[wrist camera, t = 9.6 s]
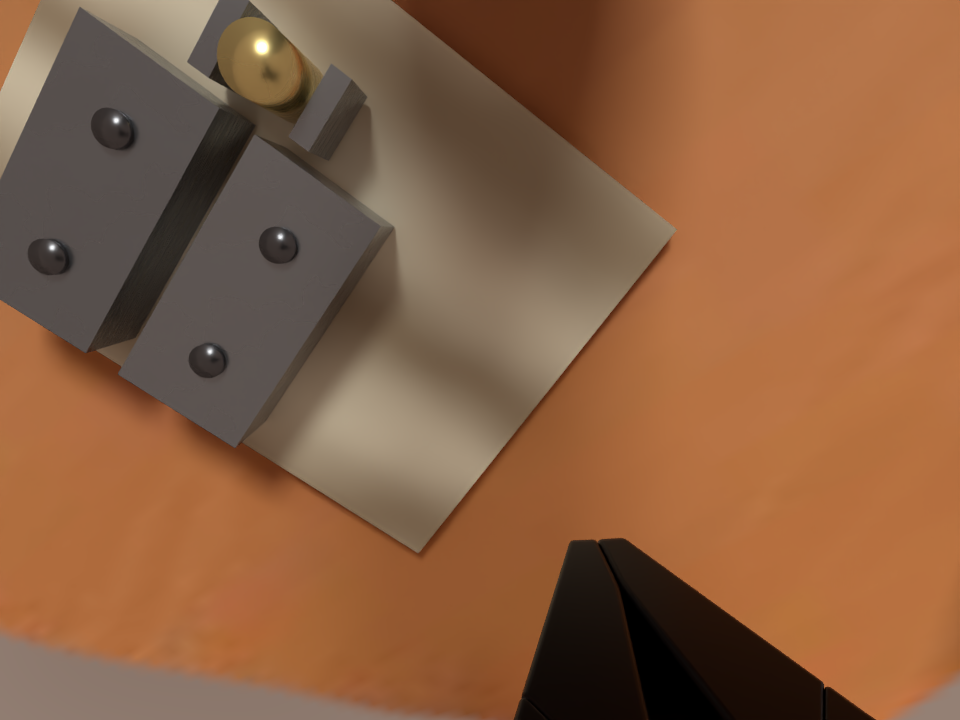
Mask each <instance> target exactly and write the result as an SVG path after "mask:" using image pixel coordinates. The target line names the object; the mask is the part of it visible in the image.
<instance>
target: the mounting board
mask: <svg viewBox="0 0 960 720" xmlns="http://www.w3.org/2000/svg"><path fill="white" fill-rule="evenodd" d="M218 1H219V0H41V1H40V3H39V5H38V8H37V10H36V12H35V14H34V17H33V19H32V21H31V24H30V26H29V28H28V30H27V33H26V35H25V37H24V39H23V42H22V44H21V46H20V48H19V51H18V53H17V55H16V57H15V60H14V62H13V64H12V67H11V69H10V71H9V73H8V76H7V78H6V80H5V82H4V85H3V87H2V89H1V91H0V179H1V176H2V174H3V172H4V170H5V168H6V165H7V163H8V161H9V159H10V157H11V155H12V152H13V150H14V148H15V146H16V144H17V142H18V139H19V137H20V135H21V133H22V131H23V129H24V126H25V124H26V122H27V120H28V118H29V115H30V113H31V111H32V109H33V107H34V105H35V102H36V100H37V98H38V96H39V94H40V92H41V89H42V87H43V85H44V83H45V81H46V78H47V76H48V74H49V72H50V70H51V68H52V65H53V63H54V61H55V59H56V57H57V55H58V52H59V50H60V48H61V46H62V44H63V42H64V39H65V37H66V35H67V33H68V31H69V28H70V26H71V24H72V22H73V20H74V18H75V15H76V13H77V11H78V9H79V7H81V8H83V9H85V10H87V11H88V12H90V13H92V14H94V15H96V16H97V17H99V18H101V19H103V20H105V21H106V22H108V23H110V24H112V25H114V26H116V27H117V28H119V29H121V30H123V31H125V32H126V33H128V34H130V35H132V36H134V37H135V38H137V39H139V40H140V41H141V42H143V43H144V44H145V45H147V46H148V47H150V48H151V49H152V50H154V51H155V52H156V53H158V54H159V55H160V56H162V57H163V58H165V59H166V60H167V61H169V62H170V63H171V64H173V65H174V66H176V67H177V68H178V69H180V70H181V71H182V72H184V73H185V74H186V75H188V76H189V77H191V78H192V79H193V80H195V81H196V82H197V83H199V84H200V85H202V86H203V87H204V88H206V89H207V90H208V91H210V92H211V93H213V94H214V95H215V96H217V97H218V98H219V99H221V100H222V101H223V102H225V103H226V104H228V105H229V106H230V107H232V108H233V109H234V110H236V111H237V112H239V113H240V114H241V115H243V116H244V117H245V118H247V119H248V120H249V121H251V122H252V123H254V124H255V125H256V126H255V128H254V129H253V131H252V133H251V135H250V136H249V138H248V140H247V142H246V144H245V145H244V147H243V149H242V151H241V152H240V154H239V156H238V158H237V159H236V161H235V163H234V165H233V167H232V168H231V170H230V172H229V174H228V175H227V177H226V179H225V181H224V182H223V184H222V186H221V188H220V189H219V191H218V193H217V195H216V197H215V198H214V200H213V202H212V204H211V205H210V207H209V209H208V211H207V212H206V214H205V216H204V218H203V219H202V221H201V223H200V225H199V227H198V228H197V230H196V232H195V234H194V235H193V237H192V239H191V241H190V242H189V244H188V246H187V248H186V250H185V251H184V253H183V255H182V257H181V258H180V260H179V262H178V264H177V265H176V267H175V269H174V271H173V272H172V274H171V276H170V278H169V280H168V281H167V283H166V285H165V287H164V288H163V290H162V292H161V294H160V295H159V297H158V299H157V301H156V302H155V304H154V306H153V308H152V310H151V311H150V313H149V315H148V317H147V318H146V320H145V322H144V324H143V325H142V327H141V329H140V331H139V333H138V334H137V336H136V338H134V339H131V340H128V341H124V342H121V343H118V344H114V345H111V346H108V347H105V348H101V349H98V350H96V351H98V352H99V353H101V354H102V355H104V356H106V357H107V358H109V359H110V360H112V361H113V362H115V363H117V364H118V365H120V366H121V367H122V366H123V364H124V362H125V360H126V359H127V357H128V355H129V353H130V352H131V350H132V348H133V346H134V345H135V343H136V341H137V339H138V338H139V336H140V334H141V332H142V331H143V329H144V327H145V325H146V324H147V322H148V320H149V318H150V317H151V315H152V313H153V311H154V310H155V308H156V306H157V304H158V303H159V301H160V299H161V297H162V296H163V294H164V292H165V290H166V289H167V287H168V285H169V283H170V282H171V280H172V278H173V276H174V275H175V273H176V271H177V269H178V267H179V266H180V264H181V262H182V260H183V259H184V257H185V255H186V253H187V252H188V250H189V248H190V246H191V245H192V243H193V241H194V239H195V238H196V236H197V234H198V232H199V231H200V229H201V227H202V225H203V224H204V222H205V220H206V218H207V217H208V215H209V213H210V211H211V210H212V208H213V206H214V204H215V203H216V201H217V199H218V197H219V196H220V194H221V192H222V190H223V189H224V187H225V185H226V183H227V182H228V180H229V178H230V176H231V175H232V173H233V171H234V169H235V168H236V166H237V164H238V162H239V161H240V159H241V157H242V155H243V154H244V152H245V150H246V148H247V147H248V145H249V143H250V141H251V140H252V138H253V136H254V134H255V135H258V136H260V137H262V138H265V139H267V140H270V141H272V142H274V143H277V144H279V145H281V146H284V147H286V148H288V149H289V150H290V151H292V152H293V153H294V154H296V155H297V156H298V157H300V158H301V159H303V160H304V161H305V162H307V163H308V164H309V165H311V166H312V167H313V168H315V169H316V170H318V171H319V172H320V173H322V174H323V175H324V176H326V177H327V178H328V179H330V180H331V181H333V182H334V183H335V184H337V185H338V186H339V187H341V188H342V189H343V190H345V191H346V192H348V193H349V194H350V195H352V196H353V197H354V198H356V199H357V200H358V201H360V202H361V203H363V204H364V205H365V206H367V207H368V208H369V209H371V210H372V211H373V212H375V213H376V214H378V215H379V216H380V217H382V218H383V219H384V220H386V221H387V222H388V223H390V224H391V225H393V226H394V229H393V230H392V232H391V233H390V235H389V236H388V238H387V239H386V241H385V242H384V244H383V245H382V247H381V248H380V250H379V251H378V253H377V254H376V256H375V257H374V259H373V260H372V262H371V263H370V265H369V266H368V268H367V269H366V271H365V272H364V274H363V275H362V277H361V279H360V280H359V282H358V283H357V285H356V286H355V288H354V289H353V291H352V292H351V294H350V295H349V297H348V298H347V300H346V301H345V303H344V304H343V306H342V307H341V309H340V310H339V312H338V313H337V315H336V316H335V318H334V319H333V321H332V322H331V324H330V325H329V327H328V328H327V330H326V331H325V333H324V334H323V336H322V337H321V339H320V340H319V342H318V343H317V345H316V346H315V348H314V349H313V351H312V352H311V354H310V355H309V357H308V358H307V360H306V361H305V363H304V364H303V366H302V367H301V369H300V370H299V372H298V373H297V375H296V376H295V378H294V379H293V381H292V382H291V384H290V385H289V387H288V388H287V390H286V391H285V393H284V394H283V396H282V398H281V399H280V401H279V402H278V404H277V405H276V407H275V408H274V410H273V411H272V413H271V414H270V416H269V417H268V419H267V420H266V422H265V423H264V424H263V425H261V426H260V427H259V428H258V429H257V430H256V431H254V432H253V433H252V434H251V435H250V436H249V437H247V438H246V439H245V440H244V441H243V442H242V443H244V444H245V445H247V446H248V447H250V448H252V449H253V450H255V451H256V452H258V453H260V454H261V455H263V456H264V457H266V458H267V459H269V460H271V461H272V462H274V463H275V464H277V465H279V466H280V467H282V468H283V469H285V470H287V471H288V472H290V473H291V474H293V475H294V476H296V477H298V478H299V479H301V480H302V481H304V482H306V483H307V484H309V485H310V486H312V487H313V488H315V489H317V490H318V491H320V492H321V493H323V494H325V495H326V496H328V497H329V498H331V499H333V500H334V501H336V502H337V503H339V504H340V505H342V506H344V507H345V508H347V509H348V510H350V511H352V512H353V513H355V514H356V515H358V516H360V517H361V518H363V519H364V520H366V521H367V522H369V523H371V524H372V525H374V526H375V527H377V528H379V529H380V530H382V531H383V532H385V533H387V534H388V535H390V536H391V537H393V538H394V539H396V540H398V541H399V542H401V543H402V544H404V545H406V546H407V547H409V548H410V549H412V550H414V551H415V552H417V553H419V552H420V551H421V549H422V548H423V547H424V546H425V544H426V543H427V542H428V541H429V539H430V538H431V537H432V536H433V534H434V533H435V532H436V531H437V529H438V528H439V527H440V526H441V524H442V523H443V522H444V521H445V519H446V518H447V517H448V516H449V514H450V513H451V512H452V511H453V509H454V508H455V507H456V506H457V504H458V503H459V502H460V501H461V499H462V498H463V497H464V496H465V494H466V493H467V492H468V491H469V489H470V488H471V487H472V486H473V484H474V483H475V482H476V481H477V479H478V478H479V477H480V476H481V474H482V473H483V472H484V471H485V469H486V468H487V467H488V466H489V464H490V463H491V462H492V461H493V459H494V458H495V457H496V456H497V454H498V453H499V452H500V451H501V449H502V448H503V447H504V446H505V444H506V443H507V442H508V441H509V439H510V438H511V437H512V436H513V434H514V433H515V432H516V431H517V429H518V428H519V427H520V426H521V424H522V423H523V422H524V421H525V419H526V418H527V417H528V416H529V414H530V413H531V412H532V410H533V409H534V408H535V407H536V405H537V404H538V403H539V402H540V400H541V399H542V398H543V397H544V395H545V394H546V393H547V392H548V390H549V389H550V388H551V387H552V385H553V384H554V383H555V382H556V380H557V379H558V378H559V377H560V375H561V374H562V373H563V372H564V370H565V369H566V368H567V367H568V365H569V364H570V363H571V362H572V360H573V359H574V358H575V357H576V355H577V354H578V353H579V352H580V350H581V349H582V348H583V347H584V345H585V344H586V343H587V342H588V340H589V339H590V338H591V337H592V335H593V334H594V333H595V332H596V330H597V329H598V328H599V327H600V325H601V324H602V323H603V322H604V320H605V319H606V318H607V317H608V315H609V314H610V313H611V312H612V310H613V309H614V308H615V307H616V305H617V304H618V303H619V302H620V300H621V299H622V298H623V297H624V295H625V294H626V293H627V292H628V290H629V289H630V288H631V287H632V285H633V284H634V283H635V282H636V280H637V279H638V278H639V277H640V275H641V274H642V273H643V272H644V270H645V269H646V268H647V267H648V265H649V264H650V263H651V262H652V260H653V259H654V258H655V257H656V255H657V254H658V253H659V251H660V250H661V249H662V248H663V246H664V245H665V244H666V243H667V241H668V240H669V239H670V238H671V236H672V235H673V234H674V233H675V231H676V230H677V229H676V228H675V227H673V226H672V225H671V224H670V223H668V222H667V221H666V220H665V219H663V218H662V217H661V216H660V215H658V214H657V213H656V212H655V211H653V210H652V209H651V208H650V207H648V206H647V205H646V204H645V203H643V202H642V201H641V200H640V199H638V198H637V197H636V196H635V195H633V194H632V193H631V192H630V191H628V190H627V189H626V188H625V187H623V186H622V185H621V184H620V183H618V182H617V181H616V180H615V179H613V178H612V177H611V176H610V175H608V174H607V173H606V172H605V171H603V170H602V169H601V168H600V167H598V166H597V165H596V164H595V163H594V162H592V161H591V160H590V159H589V158H587V157H586V156H585V155H584V154H582V153H581V152H580V151H579V150H577V149H576V148H575V147H574V146H572V145H571V144H570V143H569V142H567V141H566V140H565V139H564V138H562V137H561V136H560V135H559V134H557V133H556V132H555V131H554V130H552V129H551V128H550V127H549V126H547V125H546V124H545V123H544V122H542V121H541V120H540V119H539V118H537V117H536V116H535V115H534V114H532V113H531V112H530V111H529V110H527V109H526V108H525V107H524V106H522V105H521V104H520V103H519V102H517V101H516V100H515V99H514V98H513V97H511V96H510V95H509V94H508V93H506V92H505V91H504V90H503V89H501V88H500V87H499V86H498V85H496V84H495V83H494V82H493V81H491V80H490V79H489V78H488V77H486V76H485V75H484V74H483V73H481V72H480V71H479V70H478V69H476V68H475V67H474V66H473V65H471V64H470V63H469V62H468V61H466V60H465V59H464V58H463V57H461V56H460V55H459V54H458V53H456V52H455V51H454V50H453V49H451V48H450V47H449V46H448V45H446V44H445V43H444V42H443V41H441V40H440V39H439V38H438V37H436V36H435V35H434V34H433V33H432V32H430V31H429V30H428V29H427V28H425V27H424V26H423V25H422V24H420V23H419V22H418V21H417V20H415V19H414V18H413V17H412V16H410V15H409V14H408V13H407V12H405V11H404V10H403V9H402V8H400V7H399V6H398V5H397V4H395V3H394V2H393V1H392V0H249V1H250V2H251V3H252V4H253V5H254V6H255V7H256V8H258V9H259V10H260V11H261V12H262V13H263V14H264V15H265V16H266V17H267V18H268V19H269V20H270V21H271V22H272V23H273V24H274V25H275V26H276V27H277V28H278V30H279V31H280V32H281V33H282V34H283V35H284V36H285V37H286V38H287V39H288V40H289V41H290V42H291V43H292V44H294V45H295V46H296V47H297V48H298V49H299V50H300V51H301V52H302V53H303V54H304V55H305V56H306V57H307V58H308V59H309V60H310V61H311V62H312V63H313V64H314V65H315V66H316V67H317V68H318V69H319V70H320V72H321V73H322V75H323V76H324V75H325V73H326V71H327V70H328V68H329V66H330V65H331V64H333V65H334V66H335V67H337V68H338V69H339V70H341V71H342V72H343V73H344V74H346V75H347V76H348V77H350V78H351V79H352V80H353V81H354V82H355V83H356V84H357V86H358V87H359V88H360V89H361V90H362V91H363V92H364V94H365V95H366V96H367V99H366V101H365V102H364V104H363V106H362V107H361V109H360V111H359V112H358V114H357V115H356V117H355V119H354V120H353V122H352V124H351V125H350V127H349V129H348V130H347V132H346V133H345V135H344V137H343V138H342V140H341V142H340V143H339V145H338V146H337V148H336V150H335V151H334V153H333V155H332V156H331V158H330V160H329V161H328V160H326V159H323V158H321V157H319V156H317V155H315V154H312V153H310V152H308V151H307V150H305V149H304V148H303V147H301V146H300V145H299V144H297V143H296V142H295V141H293V140H292V139H291V138H289V137H288V136H289V134H290V133H291V131H292V129H293V128H294V126H295V124H293V123H290V122H288V121H286V120H284V119H282V118H280V117H278V116H277V115H275V114H273V113H271V112H269V111H268V110H266V109H264V108H262V107H260V106H259V105H257V104H255V103H253V102H251V101H250V100H248V99H246V98H244V97H242V96H240V95H238V94H236V93H235V92H233V91H231V90H229V89H227V88H226V87H224V86H222V85H220V84H218V83H217V82H215V81H213V80H211V79H209V78H208V77H206V76H205V75H204V74H202V73H201V72H200V71H198V70H197V69H196V68H194V67H193V66H191V65H190V64H189V63H187V61H188V59H189V57H190V55H191V53H192V51H193V49H194V47H195V45H196V43H197V41H198V40H199V38H200V36H201V34H202V32H203V30H204V28H205V26H206V24H207V22H208V20H209V18H210V16H211V14H212V13H213V11H214V9H215V7H216V5H217V3H218Z"/></svg>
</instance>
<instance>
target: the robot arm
mask: <svg viewBox="0 0 960 720" xmlns="http://www.w3.org/2000/svg"><path fill="white" fill-rule="evenodd" d="M514 720H875V719H874V718H873V717H871V716H870V715H868V714H867V713H865V712H864V711H863V710H861V709H860V708H858V707H857V706H856V705H854V704H853V703H851V702H850V701H849V700H847V699H846V698H845V697H843V696H842V695H840V694H839V693H838V692H836V691H835V690H834V689H832V688H831V687H825V689H824V684H823V682H822V681H821V680H819V679H818V678H817V677H815V676H814V675H812V674H811V673H810V672H808V671H807V670H806V669H804V668H803V667H801V666H800V665H799V664H797V663H796V662H794V661H793V660H792V659H790V658H789V657H788V656H786V655H785V654H783V653H782V652H781V651H779V650H778V649H777V648H775V647H774V646H772V645H771V644H770V643H768V642H767V641H765V640H764V639H763V638H761V637H760V636H759V635H757V634H756V633H754V632H753V631H752V630H750V629H749V628H748V627H746V626H745V625H743V624H742V623H741V622H739V621H738V620H736V619H735V618H734V617H732V616H731V615H730V614H728V613H727V612H725V611H724V610H723V609H721V608H720V607H719V606H717V605H716V604H714V603H713V602H712V601H710V600H709V599H707V598H706V597H705V596H703V595H702V594H701V593H699V592H698V591H696V590H695V589H694V588H692V587H691V586H690V585H688V584H687V583H685V582H684V581H683V580H681V579H680V578H678V577H677V576H676V575H674V574H673V573H672V572H670V571H669V570H667V569H666V568H665V567H663V566H662V565H661V564H659V563H658V562H656V561H655V560H654V559H652V558H651V557H649V556H648V555H647V554H645V553H644V552H643V551H641V550H640V549H638V548H637V547H636V546H634V545H633V544H632V543H630V542H629V541H627V540H626V539H623V538H615V539H601V540H599V541H598V543H597V541H595V540H573V541H571V542H570V543H569V546H568V549H567V552H566V556H565V559H564V562H563V565H562V568H561V572H560V575H559V578H558V581H557V584H556V588H555V591H554V594H553V597H552V600H551V604H550V607H549V610H548V613H547V616H546V620H545V623H544V626H543V629H542V632H541V636H540V639H539V642H538V645H537V648H536V652H535V655H534V658H533V661H532V664H531V668H530V671H529V674H528V677H527V680H526V684H525V687H524V690H523V693H522V699H521V700H520V702H519V705H518V708H517V711H516V714H515V717H514Z"/></svg>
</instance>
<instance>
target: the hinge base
mask: <svg viewBox="0 0 960 720" xmlns="http://www.w3.org/2000/svg"><path fill="white" fill-rule="evenodd" d="M187 63H189V64H190V65H191V66H193V67H194V68H196V69H197V70H198V71H200V72H201V73H202V74H204V75H205V76H206V77H208V78H209V79H211V80H213V81H215V82H217V83H218V84H220V85H222V86H224V87H226V88H227V89H229V90H231V91H233V92H235V93H236V94H238V95H240V96H242V97H244V98H246V99H248V100H250V101H251V102H253V103H255V104H257V105H259V106H260V107H262V108H264V109H266V110H268V111H269V112H271V113H273V114H275V115H277V116H278V117H280V118H282V119H284V120H286V121H288V122H290V123H293V124H296V122H297V121H298V119H299V117H300V116H301V114H302V112H303V111H304V109H305V107H306V105H307V104H308V102H309V100H310V99H311V97H312V95H313V94H314V92H315V90H316V88H317V87H318V85H319V83H320V82H321V80H322V78H323V75H322V73H321V72H320V70H319V69H318V68H317V67H316V66H315V65H314V64H313V63H312V62H311V61H310V60H309V59H308V58H307V57H306V56H305V55H304V54H303V53H302V52H301V51H300V50H299V49H298V48H297V47H296V46H295V45H294V44H292V43H291V42H290V41H289V40H288V39H287V38H286V37H285V36H284V35H283V34H282V33H281V32H280V31H279V30H278V28H277V27H276V26H275V25H274V24H273V23H272V22H271V21H270V20H269V19H268V18H267V17H266V16H265V15H264V14H263V13H262V12H261V11H260V10H259V9H258V8H256V7H255V6H254V5H253V4H252V3H251V2H250V1H249V0H219V1H218V3H217V5H216V7H215V9H214V11H213V13H212V14H211V16H210V18H209V20H208V22H207V24H206V26H205V28H204V30H203V32H202V34H201V36H200V38H199V40H198V41H197V43H196V45H195V47H194V49H193V51H192V53H191V55H190V57H189V59H188V61H187ZM255 126H256V125H255V124H254V123H252V122H251V121H249V120H248V119H247V118H245V117H244V116H243V115H241V114H240V113H239V112H237V111H236V110H234V109H233V108H232V107H230V106H229V105H228V104H226V103H225V102H223V101H222V100H221V99H219V98H218V97H217V96H215V95H214V94H213V93H211V92H210V91H208V90H207V89H206V88H204V87H203V86H202V85H200V84H199V83H197V82H196V81H195V80H193V79H192V78H191V77H189V76H188V75H186V74H185V73H184V72H182V71H181V70H180V69H178V68H177V67H176V66H174V65H173V64H171V63H170V62H169V61H167V60H166V59H165V58H163V57H162V56H160V55H159V54H158V53H156V52H155V51H154V50H152V49H151V48H150V47H148V46H147V45H145V44H144V43H143V42H141V41H140V40H139V39H137V38H135V37H134V36H132V35H130V34H128V33H126V32H125V31H123V30H121V29H119V28H117V27H116V26H114V25H112V24H110V23H108V22H106V21H105V20H103V19H101V18H99V17H97V16H96V15H94V14H92V13H90V12H88V11H87V10H85V9H83V8H81V7H79V9H78V11H77V13H76V15H75V18H74V20H73V22H72V24H71V26H70V28H69V31H68V33H67V35H66V37H65V39H64V42H63V44H62V46H61V48H60V50H59V52H58V55H57V57H56V59H55V61H54V63H53V65H52V68H51V70H50V72H49V74H48V76H47V78H46V81H45V83H44V85H43V87H42V89H41V92H40V94H39V96H38V98H37V100H36V102H35V105H34V107H33V109H32V111H31V113H30V115H29V118H28V120H27V122H26V124H25V126H24V129H23V131H22V133H21V135H20V137H19V139H18V142H17V144H16V146H15V148H14V150H13V152H12V155H11V157H10V159H9V161H8V163H7V165H6V168H5V170H4V172H3V174H2V176H1V179H0V300H2V301H3V302H5V303H7V304H8V305H10V306H11V307H13V308H14V309H16V310H18V311H19V312H21V313H22V314H24V315H26V316H27V317H29V318H30V319H32V320H34V321H35V322H37V323H38V324H40V325H42V326H43V327H45V328H46V329H48V330H50V331H51V332H53V333H54V334H56V335H58V336H59V337H61V338H62V339H64V340H66V341H67V342H69V343H70V344H72V345H73V346H75V347H77V348H78V349H80V350H81V351H83V352H85V353H88V352H91V351H95V350H98V349H101V348H105V347H108V346H111V345H114V344H118V343H121V342H124V341H128V340H131V339H134V338H136V336H137V334H138V333H139V331H140V329H141V327H142V325H143V324H144V322H145V320H146V318H147V317H148V315H149V313H150V311H151V310H152V308H153V306H154V304H155V302H156V301H157V299H158V297H159V295H160V294H161V292H162V290H163V288H164V287H165V285H166V283H167V281H168V280H169V278H170V276H171V274H172V272H173V271H174V269H175V267H176V265H177V264H178V262H179V260H180V258H181V257H182V255H183V253H184V251H185V250H186V248H187V246H188V244H189V242H190V241H191V239H192V237H193V235H194V234H195V232H196V230H197V228H198V227H199V225H200V223H201V221H202V219H203V218H204V216H205V214H206V212H207V211H208V209H209V207H210V205H211V204H212V202H213V200H214V198H215V197H216V195H217V193H218V191H219V189H220V188H221V186H222V184H223V182H224V181H225V179H226V177H227V175H228V174H229V172H230V170H231V168H232V167H233V165H234V163H235V161H236V159H237V158H238V156H239V154H240V152H241V151H242V149H243V147H244V145H245V144H246V142H247V140H248V138H249V136H250V135H251V133H252V131H253V129H254V128H255Z"/></svg>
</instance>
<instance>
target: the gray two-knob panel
mask: <svg viewBox="0 0 960 720" xmlns="http://www.w3.org/2000/svg"><path fill="white" fill-rule="evenodd" d="M366 99H367V96H366V95H365V94H364V92H363V91H362V90H361V89H360V88H359V87H358V86H357V84H356V83H355V82H354V81H353V80H352V79H351V78H350V77H348V76H347V75H346V74H344V73H343V72H342V71H341V70H339V69H338V68H337V67H335V66H334V65H333V64H331V65H330V66H329V68H328V70H327V71H326V73H325V75H324V76H323V78H322V80H321V82H320V83H319V85H318V87H317V88H316V90H315V92H314V94H313V95H312V97H311V99H310V100H309V102H308V104H307V105H306V107H305V109H304V111H303V112H302V114H301V116H300V117H299V119H298V121H297V122H296V124H295V126H294V128H293V129H292V131H291V133H290V134H289V136H288V137H289V138H291V139H292V140H293V141H295V142H296V143H297V144H299V145H300V146H301V147H303V148H304V149H305V150H307V151H308V152H310V153H312V154H315V155H317V156H319V157H321V158H323V159H326V160H328V161H329V160H330V158H331V156H332V155H333V153H334V151H335V150H336V148H337V146H338V145H339V143H340V142H341V140H342V138H343V137H344V135H345V133H346V132H347V130H348V129H349V127H350V125H351V124H352V122H353V120H354V119H355V117H356V115H357V114H358V112H359V111H360V109H361V107H362V106H363V104H364V102H365V101H366ZM393 229H394V226H393V225H391V224H390V223H388V222H387V221H386V220H384V219H383V218H382V217H380V216H379V215H378V214H376V213H375V212H373V211H372V210H371V209H369V208H368V207H367V206H365V205H364V204H363V203H361V202H360V201H358V200H357V199H356V198H354V197H353V196H352V195H350V194H349V193H348V192H346V191H345V190H343V189H342V188H341V187H339V186H338V185H337V184H335V183H334V182H333V181H331V180H330V179H328V178H327V177H326V176H324V175H323V174H322V173H320V172H319V171H318V170H316V169H315V168H313V167H312V166H311V165H309V164H308V163H307V162H305V161H304V160H303V159H301V158H300V157H298V156H297V155H296V154H294V153H293V152H292V151H290V150H289V149H288V148H286V147H284V146H281V145H279V144H277V143H274V142H272V141H270V140H267V139H265V138H262V137H260V136H258V135H255V134H254V136H253V138H252V140H251V141H250V143H249V145H248V147H247V148H246V150H245V152H244V154H243V155H242V157H241V159H240V161H239V162H238V164H237V166H236V168H235V169H234V171H233V173H232V175H231V176H230V178H229V180H228V182H227V183H226V185H225V187H224V189H223V190H222V192H221V194H220V196H219V197H218V199H217V201H216V203H215V204H214V206H213V208H212V210H211V211H210V213H209V215H208V217H207V218H206V220H205V222H204V224H203V225H202V227H201V229H200V231H199V232H198V234H197V236H196V238H195V239H194V241H193V243H192V245H191V246H190V248H189V250H188V252H187V253H186V255H185V257H184V259H183V260H182V262H181V264H180V266H179V267H178V269H177V271H176V273H175V275H174V276H173V278H172V280H171V282H170V283H169V285H168V287H167V289H166V290H165V292H164V294H163V296H162V297H161V299H160V301H159V303H158V304H157V306H156V308H155V310H154V311H153V313H152V315H151V317H150V318H149V320H148V322H147V324H146V325H145V327H144V329H143V331H142V332H141V334H140V336H139V338H138V339H137V341H136V343H135V345H134V346H133V348H132V350H131V352H130V353H129V355H128V357H127V359H126V360H125V362H124V364H123V366H122V367H121V369H120V371H119V373H118V375H120V376H121V377H123V378H124V379H126V380H127V381H129V382H131V383H132V384H134V385H135V386H137V387H139V388H140V389H142V390H143V391H145V392H147V393H148V394H150V395H151V396H153V397H155V398H156V399H158V400H159V401H161V402H162V403H164V404H166V405H167V406H169V407H170V408H172V409H174V410H175V411H177V412H178V413H180V414H182V415H183V416H185V417H186V418H188V419H189V420H191V421H193V422H194V423H196V424H197V425H199V426H201V427H202V428H204V429H205V430H207V431H209V432H210V433H212V434H213V435H215V436H217V437H218V438H220V439H221V440H223V441H224V442H226V443H228V444H229V445H231V446H232V447H234V448H236V447H237V446H238V445H239V444H241V443H242V442H243V441H244V440H245V439H246V438H247V437H249V436H250V435H251V434H252V433H253V432H254V431H256V430H257V429H258V428H259V427H260V426H261V425H263V424H264V423H265V422H266V420H267V419H268V417H269V416H270V414H271V413H272V411H273V410H274V408H275V407H276V405H277V404H278V402H279V401H280V399H281V398H282V396H283V394H284V393H285V391H286V390H287V388H288V387H289V385H290V384H291V382H292V381H293V379H294V378H295V376H296V375H297V373H298V372H299V370H300V369H301V367H302V366H303V364H304V363H305V361H306V360H307V358H308V357H309V355H310V354H311V352H312V351H313V349H314V348H315V346H316V345H317V343H318V342H319V340H320V339H321V337H322V336H323V334H324V333H325V331H326V330H327V328H328V327H329V325H330V324H331V322H332V321H333V319H334V318H335V316H336V315H337V313H338V312H339V310H340V309H341V307H342V306H343V304H344V303H345V301H346V300H347V298H348V297H349V295H350V294H351V292H352V291H353V289H354V288H355V286H356V285H357V283H358V282H359V280H360V279H361V277H362V275H363V274H364V272H365V271H366V269H367V268H368V266H369V265H370V263H371V262H372V260H373V259H374V257H375V256H376V254H377V253H378V251H379V250H380V248H381V247H382V245H383V244H384V242H385V241H386V239H387V238H388V236H389V235H390V233H391V232H392V230H393Z"/></svg>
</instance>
